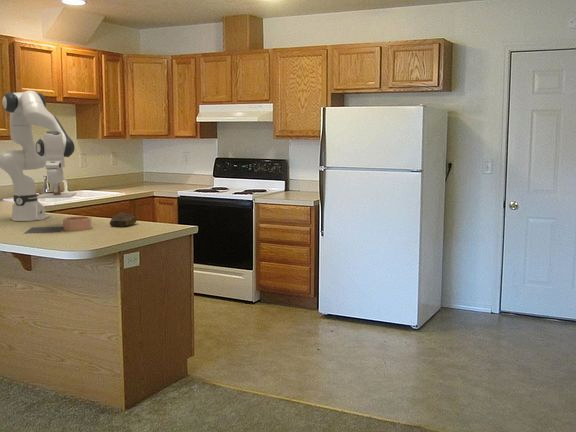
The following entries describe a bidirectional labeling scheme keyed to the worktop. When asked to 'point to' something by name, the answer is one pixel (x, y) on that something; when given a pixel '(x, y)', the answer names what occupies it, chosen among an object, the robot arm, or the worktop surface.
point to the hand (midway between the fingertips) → (57, 191)
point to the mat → (44, 230)
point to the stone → (122, 220)
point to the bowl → (77, 223)
